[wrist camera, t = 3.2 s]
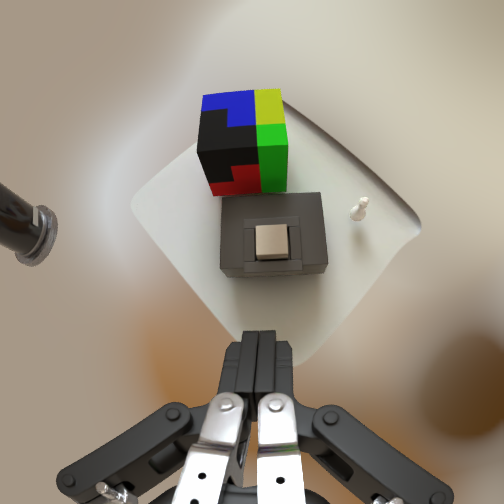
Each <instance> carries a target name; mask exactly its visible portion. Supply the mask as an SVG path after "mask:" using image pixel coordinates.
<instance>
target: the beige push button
mask: <svg viewBox="0 0 504 504" xmlns="http://www.w3.org/2000/svg"><path fill="white" fill-rule="evenodd" d="M256 256H257V259H258V260H268V259H288V240H287V224H280V225H261V226H256Z"/></svg>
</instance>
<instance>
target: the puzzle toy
mask: <svg viewBox="0 0 504 504" xmlns="http://www.w3.org/2000/svg"><path fill="white" fill-rule="evenodd" d="M197 154H198V157H199V160H200V162H201V165H202V168H203V170H204V173H205V175H206V178H207V181H208V183H209V186H210V189H211V191H212V194H213V196H224V195H237V194H252V193H269V192H286V187H287V165H288V139H287V131H286V124H285V117H284V110H283V104H282V97H281V91H280V89H261V90H246V91H235V92H225V93H216V94H208V95H203V100H202V108H201V116H200V125H199V134H198V143H197Z"/></svg>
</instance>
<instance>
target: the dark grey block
mask: <svg viewBox="0 0 504 504" xmlns="http://www.w3.org/2000/svg"><path fill="white" fill-rule="evenodd" d="M280 224H287V240H288V259H268V260H258V259H257V256H256V226H261V225H280ZM327 265H328V256H327V245H326V236H325V226H324V217H323V209H322V201H321V193H320V192H312V193H289V194H270V195H254V196H239V197H226V198H222V212H221V244H220V269H221V270H222V272H223V273H224V274H225V275H226V276H227V277H257V276H281V275H302V274H320V273H324V272H325V269H326V267H327Z"/></svg>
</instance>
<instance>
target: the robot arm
mask: <svg viewBox="0 0 504 504" xmlns="http://www.w3.org/2000/svg"><path fill="white" fill-rule="evenodd" d="M46 229H47V219H46V216H45V214H44V213H43V212H42V211H40V210H39V209H38V208H36V207H35V206H32V205H31V204H29V203H28V202H26V201H24V199H22V198H21V197H19V196H18V195H16V194H15V193H14V192H12V191H11V190H10V189H8V188H7V187H6V186H4V185H3V184H1V183H0V245H2V246H4V247H6V248H8V249H10V250H12V251H14V252H16V253H18V254H19V255H21V256H23V257H29V256H31V255H33V254H34V253H35V252H36V251H37V250H38V248H39V247H40V245H41V244H42V242H43V239H44V237H45V233H46ZM257 418H258V443H259V444H258V446H259V448H258V455H257V460H258V485H257V486H252V487H247V488H246V487H245V488H242V487H243V472H244V466H245V461H246V456H247V451H248V446H249V441H250V431H251V422H256V421H257ZM300 451H302V452H306V453H309V454H310V455H311V457H312V458H313V459H315V460H316V461H317V462H318V463H319V464H320V465H321V466H322V467H323V468H324V469H326V471H328V472H329V473H330V474H331V475H332V476H333V477H334V478H335V479H337V480H338V481H339V482H340V483H341V484H342V485H343V486H345V487H346V488H347V489H348V490H349V491H350V492H352V493H353V494H354V495H355V496H356V497H358V498H359V499H360V500H361V501H362V502H364V503H365V504H453V501H454V493H453V491H452V489H451V488H450V487H449V486H448V485H447V484H445V483H444V482H442V481H440V480H439V479H438V478H436V477H435V476H433V475H432V474H430V473H429V472H427V471H426V470H424V469H423V468H422V467H420V466H419V465H417V464H416V463H414V462H413V461H412V460H410V459H409V458H407V457H406V456H405V455H403V454H402V453H400V452H399V451H398V450H396V449H395V448H394V447H392V446H391V445H390V444H388V443H387V442H386V441H384V440H383V439H382V438H380V437H379V436H378V435H376V434H375V433H374V432H372V431H371V430H370V429H368V428H367V427H366V426H365V425H363V424H362V423H361V422H360V421H358V420H357V419H356V418H354V417H353V416H352V415H351V414H349V413H348V412H347V411H346V410H344V409H343V408H342V407H339V406H337V405H325V406H322V407H320V408H319V409H314V408H309V407H306V406H303V405H301V404H300V403H299V402H297V400H296V399H295V398H294V394H293V366H292V348H291V346H290V345H289V343H288V342H287V341H276V330H266V331H260V334H259V331H243V334H242V341H241V342H232V343H231V344H230V345H229V347H228V348H227V349H226V353H225V358H224V363H223V368H222V372H221V378H220V382H219V387H218V392H217V395H216V396H215V397H213V398H212V400H211V401H210V403H208V404H206V405H203V406H198V407H193V408H188V407H187V406H186V405H184V404H182V403H179V402H171V403H168V404H166V405H164V406H163V407H161V408H160V409H158V410H157V411H155V412H154V413H152V414H151V415H149V416H148V417H146V418H145V419H143V420H142V421H140V422H139V423H138V424H136V425H134V426H133V427H131V428H130V429H128V430H127V431H125V432H124V433H122V434H121V435H119V436H117V437H116V438H114V439H113V440H111V441H109V442H108V443H106V444H105V445H103V446H101V447H100V448H98V449H96V450H95V451H93V452H91V453H90V454H88V455H86V456H85V457H83V458H81V459H80V460H78V461H76V462H74V463H73V464H71V465H69V466H67V467H65V468H64V469H62V470H61V471H60V472H59V473H58V475H57V478H56V484H57V487H58V489H59V490H60V492H61V493H63V494H64V495H66V496H68V497H69V498H71V499H72V500H73V501H75V502H76V503H77V504H138V499H137V498H138V497H139V496H141V495H142V494H144V493H145V492H147V491H149V490H150V489H151V488H153V487H155V486H156V485H157V484H159V483H160V482H162V481H163V480H165V479H166V478H168V477H169V476H170V475H172V474H173V473H174V472H176V471H177V470H179V469H180V468H181V467H183V466H184V467H183V470H182V473H181V476H180V479H179V482H178V485H177V486H174V487H172V488H170V489H168V490H167V491H165V492H164V493H162V494H161V495H160V496H158V497H157V498H156V499H154V500H153V501H151V502H150V503H149V504H330V503H329V502H328V501H327V500H326V499H325V498H323V497H322V496H320V495H319V494H317V493H315V492H313V491H311V490H308V489H304V485H303V474H302V464H301V455H300Z"/></svg>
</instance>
